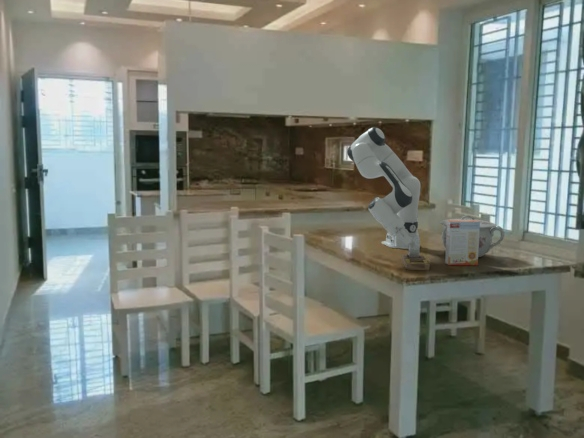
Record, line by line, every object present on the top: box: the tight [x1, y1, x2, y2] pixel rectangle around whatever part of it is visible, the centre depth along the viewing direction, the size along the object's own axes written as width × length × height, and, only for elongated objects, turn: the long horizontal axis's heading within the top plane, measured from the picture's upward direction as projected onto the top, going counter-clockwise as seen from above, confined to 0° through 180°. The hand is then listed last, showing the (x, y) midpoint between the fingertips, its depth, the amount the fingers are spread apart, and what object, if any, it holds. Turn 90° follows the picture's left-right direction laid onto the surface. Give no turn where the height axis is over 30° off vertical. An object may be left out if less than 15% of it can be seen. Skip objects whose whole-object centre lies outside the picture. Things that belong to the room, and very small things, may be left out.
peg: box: [407, 236, 421, 258], centre depth 275 cm, size 4×4×12 cm
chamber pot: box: [439, 214, 505, 258], centre depth 292 cm, size 28×28×21 cm
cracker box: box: [444, 219, 480, 266], centre depth 270 cm, size 14×6×21 cm, turn 92°
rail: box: [401, 253, 431, 271], centre depth 269 cm, size 24×10×3 cm, turn 174°
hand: (415, 247), depth 275 cm, fingers closed on peg, 4 cm apart
